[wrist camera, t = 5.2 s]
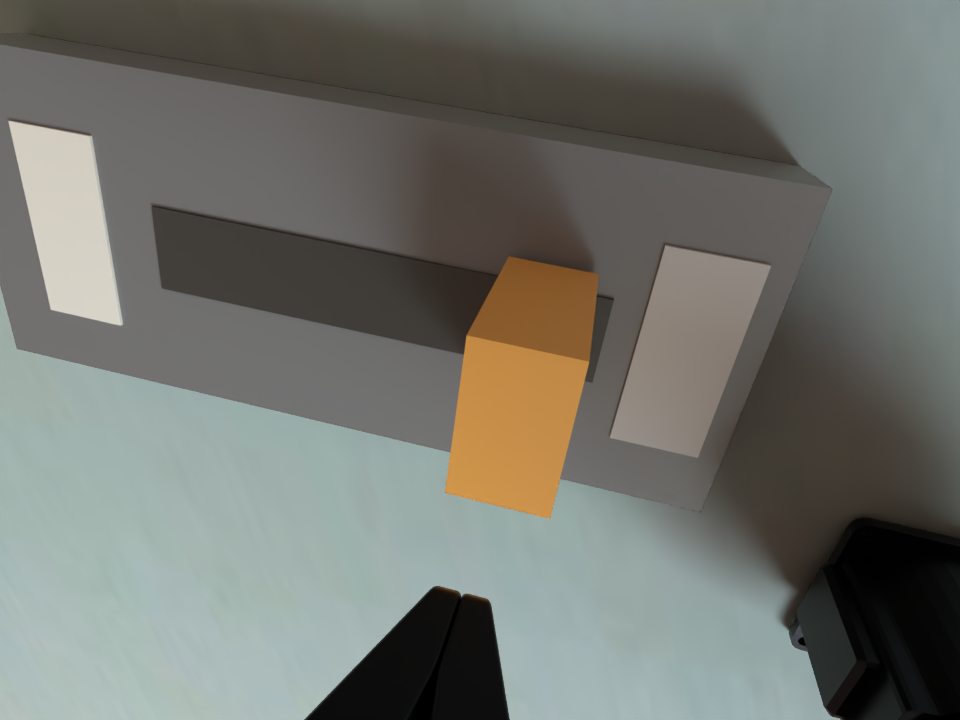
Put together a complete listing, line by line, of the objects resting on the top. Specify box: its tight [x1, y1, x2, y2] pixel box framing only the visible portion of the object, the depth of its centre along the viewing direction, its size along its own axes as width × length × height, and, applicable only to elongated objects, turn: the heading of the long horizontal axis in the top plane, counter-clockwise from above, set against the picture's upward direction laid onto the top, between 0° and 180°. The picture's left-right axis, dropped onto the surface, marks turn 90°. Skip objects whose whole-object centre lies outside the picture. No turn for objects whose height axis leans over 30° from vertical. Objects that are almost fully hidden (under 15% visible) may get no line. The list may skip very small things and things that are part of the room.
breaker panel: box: [0, 34, 832, 512], centre depth 19 cm, size 24×10×3 cm, turn 82°
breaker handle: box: [445, 256, 599, 519], centre depth 15 cm, size 2×4×5 cm, turn 172°
